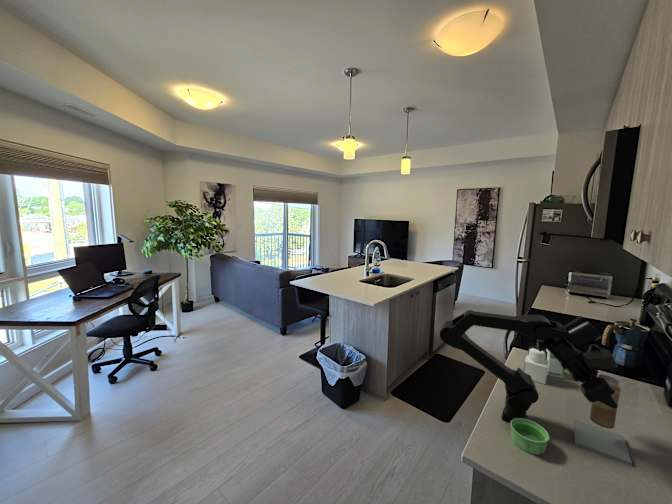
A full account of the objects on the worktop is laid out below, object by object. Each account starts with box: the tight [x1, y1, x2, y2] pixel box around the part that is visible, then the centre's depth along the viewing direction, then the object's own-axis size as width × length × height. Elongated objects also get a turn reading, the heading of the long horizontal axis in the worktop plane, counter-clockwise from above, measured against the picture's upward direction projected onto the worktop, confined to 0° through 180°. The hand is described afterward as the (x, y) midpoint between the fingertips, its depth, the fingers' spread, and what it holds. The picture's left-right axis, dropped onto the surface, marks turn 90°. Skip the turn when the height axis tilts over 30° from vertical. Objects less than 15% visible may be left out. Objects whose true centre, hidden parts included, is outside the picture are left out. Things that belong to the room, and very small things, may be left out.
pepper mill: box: [589, 374, 621, 430], centre depth 78 cm, size 5×5×13 cm
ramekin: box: [509, 418, 550, 456], centre depth 78 cm, size 9×9×4 cm
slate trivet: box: [572, 418, 633, 467], centre depth 79 cm, size 11×11×1 cm
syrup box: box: [545, 349, 566, 380], centre depth 113 cm, size 6×6×14 cm
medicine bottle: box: [523, 345, 548, 385], centre depth 110 cm, size 7×7×12 cm
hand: (611, 401), depth 77 cm, fingers closed on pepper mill, 5 cm apart
